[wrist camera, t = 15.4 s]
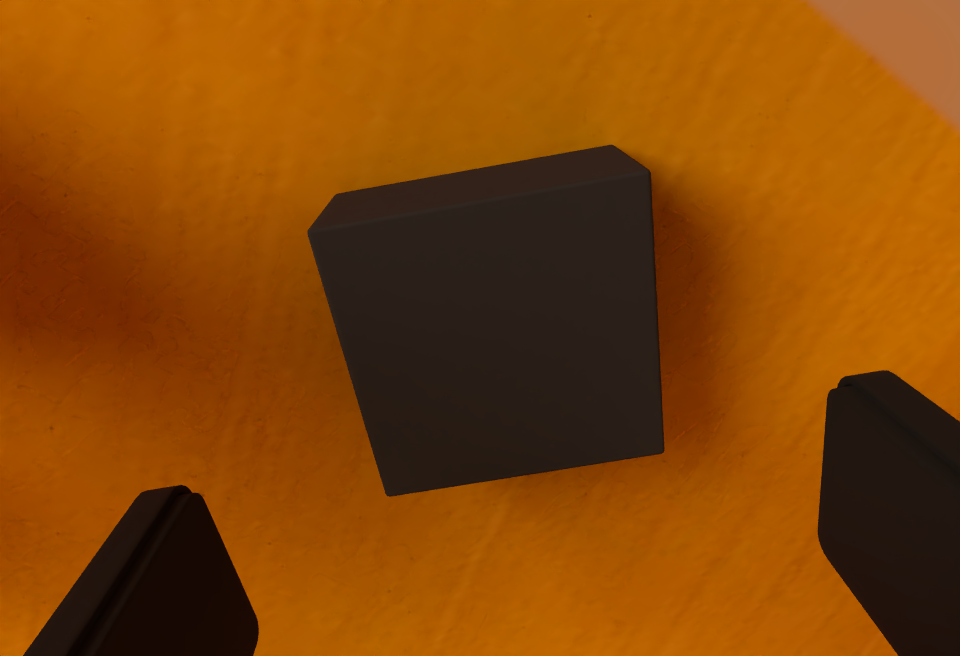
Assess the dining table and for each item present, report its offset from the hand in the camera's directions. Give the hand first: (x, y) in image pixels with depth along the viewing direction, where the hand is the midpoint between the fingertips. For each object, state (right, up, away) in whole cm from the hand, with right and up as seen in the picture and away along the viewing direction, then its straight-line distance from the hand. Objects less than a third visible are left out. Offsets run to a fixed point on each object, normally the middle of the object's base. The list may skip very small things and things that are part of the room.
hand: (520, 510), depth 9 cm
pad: (0, +4, +6) cm, 7 cm away
